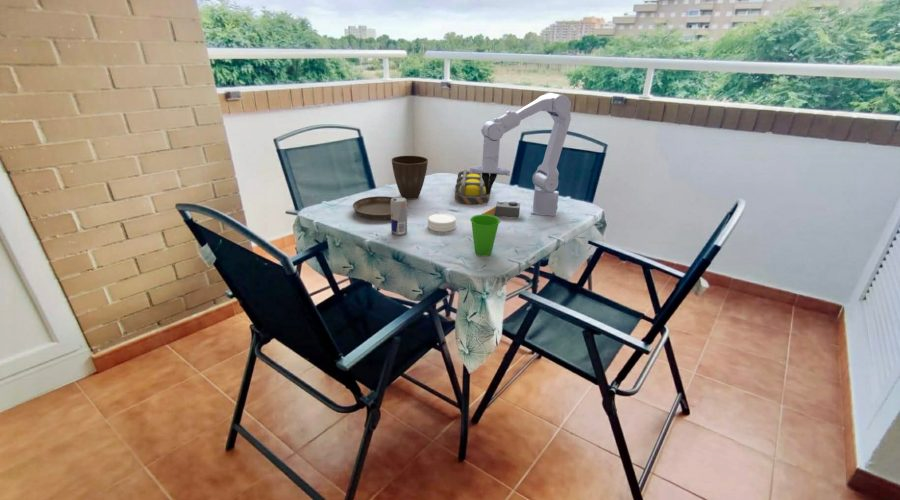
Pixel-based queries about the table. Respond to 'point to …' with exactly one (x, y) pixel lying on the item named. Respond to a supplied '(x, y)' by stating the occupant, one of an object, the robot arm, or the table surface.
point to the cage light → (471, 189)
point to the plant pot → (409, 175)
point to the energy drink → (398, 215)
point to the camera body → (507, 209)
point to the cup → (484, 233)
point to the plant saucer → (374, 207)
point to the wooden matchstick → (490, 211)
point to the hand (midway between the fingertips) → (488, 193)
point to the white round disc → (441, 222)
